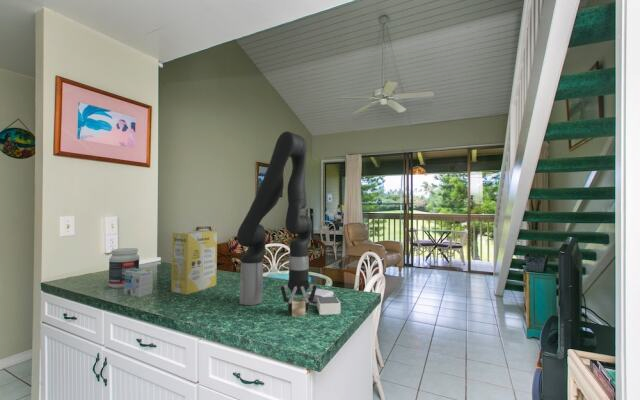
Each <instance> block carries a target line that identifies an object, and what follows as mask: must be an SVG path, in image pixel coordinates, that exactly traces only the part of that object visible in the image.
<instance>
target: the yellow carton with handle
mask: <svg viewBox="0 0 640 400" xmlns="http://www.w3.org/2000/svg"><path fill="white" fill-rule="evenodd" d="M171 238H172V240H171V241H172V244H171V287H170V288H171V293H177V294H182V295H190V294H193V293H196V292H199V291H203V290H206V289H208V288H209V289H210V288H212V286H213V287H215V285H216V286H217V272H218V271H217V264H218V263H217V262H218V230H217V231H216V230H203V229H202V230H192V231H190V230H189V231H179V232H172V237H171Z"/></svg>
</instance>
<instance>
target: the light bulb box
mask: <svg viewBox="0 0 640 400" xmlns="http://www.w3.org/2000/svg"><path fill="white" fill-rule="evenodd" d="M153 280H154V270H152V269H143V268H139V269H133V270H128V271H125V282H124V288H123V294H124V295H127V296H130V297H131V296H132V297H137V298H140V297H144V296H148V295H151V294H153V285H154V284H153V283H154V282H153Z"/></svg>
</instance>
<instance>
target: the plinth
mask: <svg viewBox="0 0 640 400" xmlns="http://www.w3.org/2000/svg"><path fill="white" fill-rule="evenodd" d="M316 308H317V311H318V315H320V316H321V315H322V316H323V315H341V301H340V300H339V299H338V298H337V296H333V297H318V298H317V306H316Z"/></svg>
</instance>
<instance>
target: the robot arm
mask: <svg viewBox="0 0 640 400" xmlns="http://www.w3.org/2000/svg"><path fill="white" fill-rule="evenodd" d="M307 148H308V147H307V141H306V139H305V138H304V137H303V136H302V135H299V134H296V133H295V132H292V131H283V132H282V133H280V135H279V136H278V137H277V140H276V143H275V146H274V148H273V151H272V155H271V158H270V161H269V163H268V166H267V169H266V171H265V174H264V176H263V178H262V180H261V182H260V184H259V187H258V190H257V192H256V195H255V197H254V198H253V201H252V203H251V206H250V207H249V210H248V212H247V214H246V216H245V217H244V219H243V221H242V222H241V224H240V226H239V228H238V230H237V234H236V241H237V243H238V244H239V245H240V246H242V247H248V248H247V250H246V251H245V252H244V253H243V254H241V257H240V281H239V305H245V306H255V305H259V304H261V303H263V297H264V296H263V293H264V292H263V291H264V290H263V289H264V288H263V286H264V285H263V284H264V279H263V278H264V257H265V255H266V254H265V253H266V244H267V243H266V242H267V235H266V228H265V227H264V226H263V225H262V224H261V222H262V220H263V219H264V218H265V216H267V215H268V213H270V211H272V209H273V208H275V206H276V205H277V203H278V202H279V199H280V198H281V196H282V194H283V190H284V187H285V186H284V184H285V183H284V181H285V179H284V170H285V166H286V164H287V162H288V160H289V158H290V159H291V164H292V165H291V166H292V167H291V168H292V169H291V170H292V171H291V174H290V177H289V181H288V183H287V189H286V190H287V201H288V202H287V205H288V206H287V212H286V216H285V228H286V230H287V231H288V233H289V234H291V235H297V236H296V238H295V239H293V240H291V241H290V243H289V260H288V282H287V284H281V285H280V290H281V295H282V298H283V302H284V303H287V305H288V306H287V311H288V312H289V313H290V314H292V300H293V299H295V298H294V297H295V296H297V295H302V296H303V299H305V314H307V312H308V311H309V302H310V301H313V300H314V295H315V291H316V289H317V285H316V284H315V283H312V284H311V283H310V282H309V274H310V273H309V272H310V271H309V269H310V268H309V266H310V265H309V263H310V261H309V243H310V240H311V235H312V231H313V221H312V219H311V217H309V216H308V215H304V214H303V215H301V211H302V210H304V209H305V208H306V207H307V194H306V193H307V192H306V162H307V151H308V149H307ZM309 288H310V289H309ZM287 289H289V290H290V294H289V297H287V293H286V292H287ZM308 289H309V290H310V292H311V294H310V297H307V294H306V293H307V290H308Z"/></svg>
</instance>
